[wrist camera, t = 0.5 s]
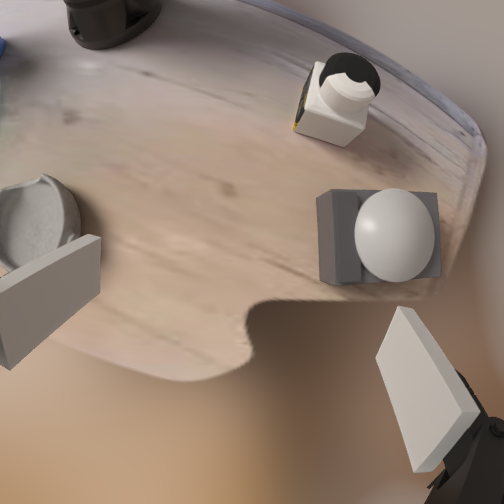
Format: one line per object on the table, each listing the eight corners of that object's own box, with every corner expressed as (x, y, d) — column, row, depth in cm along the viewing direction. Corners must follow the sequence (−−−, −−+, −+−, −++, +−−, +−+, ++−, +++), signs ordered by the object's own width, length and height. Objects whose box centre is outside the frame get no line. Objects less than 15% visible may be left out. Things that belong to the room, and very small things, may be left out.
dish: (-3, 209, 35) (-24, 205, 30) (64, 157, 36) (46, 147, 31) (29, 299, 36) (8, 304, 31) (102, 253, 37) (85, 253, 32)
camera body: (316, 198, 38) (335, 186, 31) (412, 199, 39) (443, 191, 32) (319, 280, 39) (340, 287, 31) (415, 273, 40) (448, 277, 32)
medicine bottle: (303, 86, 38) (327, 35, 26) (352, 103, 39) (390, 60, 27) (291, 131, 38) (315, 87, 26) (344, 148, 39) (385, 113, 27)
